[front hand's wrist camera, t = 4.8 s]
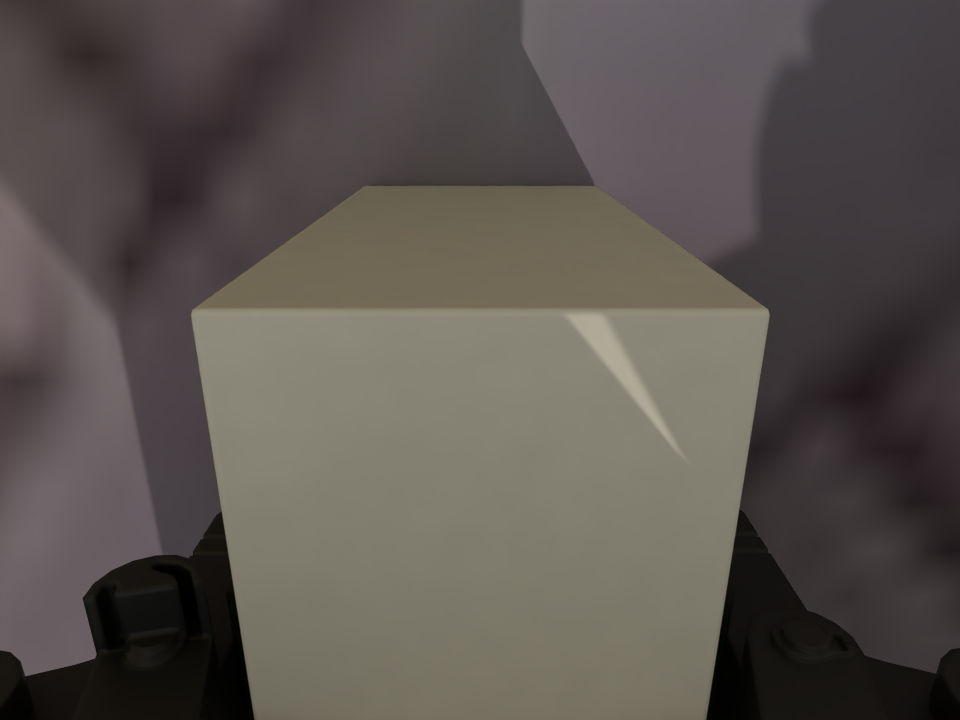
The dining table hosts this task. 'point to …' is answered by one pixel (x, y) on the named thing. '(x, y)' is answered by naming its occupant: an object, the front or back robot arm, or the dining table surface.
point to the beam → (480, 458)
